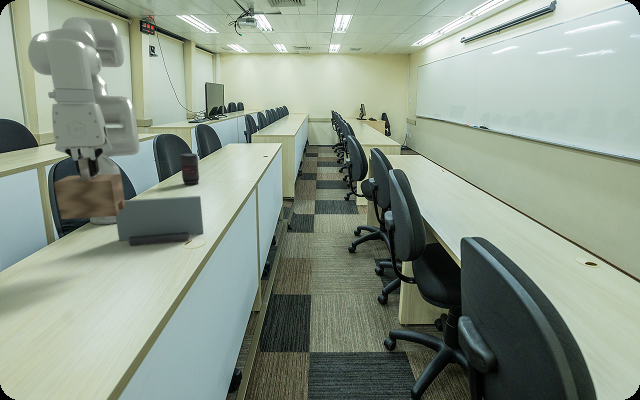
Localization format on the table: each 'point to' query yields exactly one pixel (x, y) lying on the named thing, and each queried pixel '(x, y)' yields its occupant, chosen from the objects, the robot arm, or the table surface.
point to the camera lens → (189, 169)
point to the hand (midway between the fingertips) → (89, 174)
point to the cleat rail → (158, 238)
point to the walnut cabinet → (89, 194)
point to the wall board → (160, 217)
